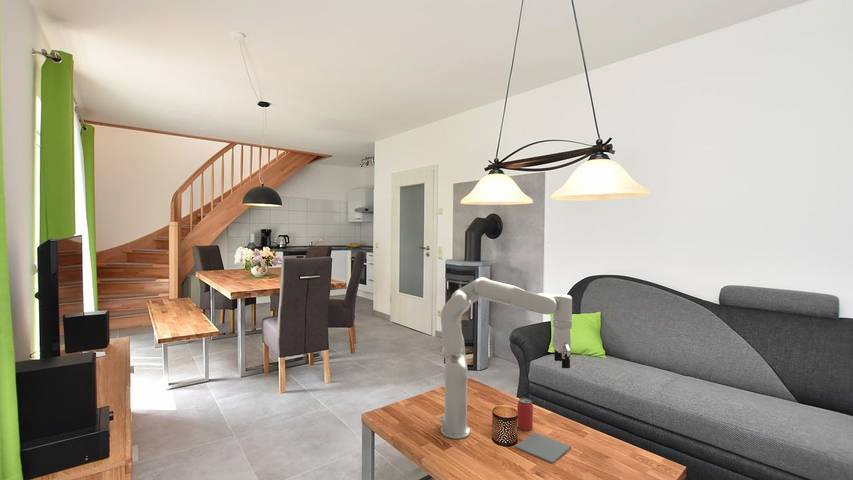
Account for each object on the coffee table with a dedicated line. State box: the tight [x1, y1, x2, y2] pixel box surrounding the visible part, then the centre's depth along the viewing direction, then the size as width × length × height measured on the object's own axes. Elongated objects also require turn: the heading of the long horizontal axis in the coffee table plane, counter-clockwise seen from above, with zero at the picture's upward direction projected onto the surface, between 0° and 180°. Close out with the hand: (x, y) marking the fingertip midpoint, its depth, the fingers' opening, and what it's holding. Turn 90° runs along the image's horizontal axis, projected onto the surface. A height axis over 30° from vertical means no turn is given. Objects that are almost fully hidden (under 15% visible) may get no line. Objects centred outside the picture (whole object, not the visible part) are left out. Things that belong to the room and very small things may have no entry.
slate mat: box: [514, 432, 572, 464], centre depth 160 cm, size 16×16×1 cm
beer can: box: [517, 397, 534, 431], centre depth 177 cm, size 7×7×12 cm
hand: (561, 364), depth 170 cm, fingers open, 9 cm apart
